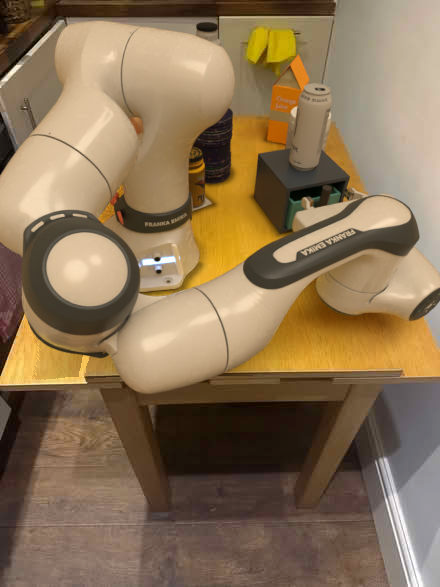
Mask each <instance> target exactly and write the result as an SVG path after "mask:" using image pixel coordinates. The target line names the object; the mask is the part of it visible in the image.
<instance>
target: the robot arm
mask: <svg viewBox="0 0 440 587" xmlns="http://www.w3.org/2000/svg"><path fill="white" fill-rule="evenodd" d="M54 68H55V72H56V75H57V78H58V80H59V83H60V84H61V86H62V91H61V92H60V96H59V97H58V99H57V100H56V102H55V103H54V104H53V105H52V107H51V108H50V110H49V111H48V112H47V114H46V115H45V116H44V117H43V119H41V121H40V122H39V123H38V125H37V126H36V127H35V128H34V130H33V131H32V132H31V133H30V134H29V136H28V137H27V138H26V139H25V140H24V141H23V142H22V144H21V145H20V146H19V147H18V149H17V150H16V151H15V152H14V154H13V156H11V158H10V159H9V161H8V162H7V163H6V166H5V167H4V168H3V170H2V171H1V174H0V243H1V244H2V245H3V246H4V247H6V248H7V249H8V250H9V251H11V252H13V253H15V254H16V255H19V256H20V257H21V259H22V261H21V304H22V305H21V306H22V310H23V314H24V316H25V318H26V320H27V324H28V326H29V328H30V330H31V332H32V333H33V335H34V336H35V338H36V339H38V340H39V341H40V342H41V343H42V344H43V345H45V346H47V347H49V348H51V349H52V350H56V351H58V352H61V353H66V354H73V355H79V356H80V355H81V356H84V357H92V358H96V359H105V358H107V357H110V359H111V361H112V363H113V367H114V368H115V371H116V373H117V374H118V376H119V378H120V379H121V380H122V381H123V382H124V384H125V385H127V386H128V387H129V388H130V389H132V391H134V392H137V393H139V394H142V395H153V394H159V393H165V392H170V391H173V390H174V391H175V390H178V389H181V388H185V387H189V386H192V385H195V384H198V383H201V382H204V381H208V380H211V379H212V378H215V377H218V376H220V375H223V374H225V373H227V372H229V371H232V370H234V369H236V368H239V367H240V366H242V365H244V364H245V363H247V362H248V361H250V360H251V359H253V358H254V357H255V356H257V355H259V354H260V353H261V352H262V351H264V349H266V347H267V346H268V345H269V344H270V342H271V341H272V339H273V338H274V336H275V334H276V332H277V330H278V329H279V328H280V325H281V324H282V322H283V320H284V318H286V315H287V314H288V312H289V311H290V309H291V308H292V306H293V305H294V303H295V302H296V300H297V299H298V297H299V296H300V295H301V293H302V292H304V290H306V288H307V287H308V286H309V285H310V284H311V283H312V282H313V281H315V283H314V288H315V292H316V294H317V296H318V298H319V299H320V301H321V302H322V303H323V305H325V306H326V307H327V308H328V309H329V310H331V311H333V312H334V313H336V314H338V315H341V316H346V317H355V316H356V317H357V316H361V315H364V314H368V313H369V314H370V313H371V314H372V313H373V314H386V315H387V314H388V315H392V316H395V317H397V318H400V319H401V320H403V321H405V322H414V321H418V320H420V319H422V318H424V317H425V316H427V315H428V314H429V313H430V312H431V311H432V310H434V309H435V308H436V307H437V305H438V304H439V303H440V272H439V270H438V269H437V268H436V267H435V266H434V265H433V263H432V262H431V261H430V260H429V259H428V257H426V256H425V255H424V254H423V252H422V251H420V249H418V248H417V247H416V244H417V243H418V241H419V240H420V237H421V236H420V230H419V226H418V222H417V219H416V216H415V214H414V213H413V211H412V209H411V208H410V206H408V204H406V203H405V202H403V201H401V199H400V200H399V199H398V198H396V197H395V196H393V195H392V194H389V193H383V192H382V193H379V194H373V195H368V194H367V193H364V192H361V191H357V190H356V188H354V187H348V188H347V189H346V190H345V193H344V199H345V198H346V201H343V202H341V203H336V204H332V205H327V206H322V207H317V208H314V207H313V205H312V204H313V202H314V200H313V199H312V198H311V197H310V196H309V197H304V198H302V202H301V205H302V207H303V208H304V209H305V210H303V211H299V212H297V213H296V214H295V216H294V220H293V225H292V229H293V231H292V232H291V233H289V234H287V235H285V236H283V237H280V238H278V239H276V240H274V241H271V242H269V243H268V244H266V245H264V246H262V247H261V248H259V249H257V250H256V251H254V252H253V253H252V254H250V255H249V256H248V257H247V258H245V260H243V261H242V262H240V263H238V264H237V265H236V266H234V267H232V269H229V270H227V271H225V272H224V273H222V274H220V275H218V276H217V277H214V278H213V279H211V280H208V281H205V282H203V283H201V284H198V285H195V286H192V287H189V288H186V289H183V290H180V291H177V292H174V293H171V294H169V295H167V294H166V295H165V294H164V295H147V294H144V293H146V292H156V291H167V290H175V289H176V290H177V289H179V288H181V287H182V285H183V283H184V282H185V279H186V277H187V276H188V275H189V274H190V273H191V272H192V271H194V270H195V268H196V267H197V265H198V263H199V261H200V256H201V253H200V249H199V247H198V245H197V241H196V238H195V234H194V230H193V224H192V221H193V213H194V210H193V203H192V196H191V192H190V191H189V157H190V152H191V149H192V146H193V144H194V142H195V140H196V139H197V137H198V136H199V135H200V134H201V133H202V132H203V131H204V130H206V129H207V128H209V127H210V126H212V125H214V124H215V123H217V122H218V121H219V120H220V119H221V118H222V117H223V116H224V114H225V113H226V112H227V110H228V108H230V106H231V104H232V101H233V98H234V96H235V95H234V94H235V90H236V89H235V88H236V76H235V70H234V66H233V63H232V60H231V57H230V55H229V54H228V52H227V51H226V49H225V48H224V47H223V46H222V45H221V46H219V45H216V44H214V43H212V42H210V41H208V40H205V39H203V38H200V37H198V36H196V34H192V33H187V32H182V31H175V30H168V29H162V28H156V27H151V26H140V25H134V24H128V23H120V22H115V21H109V20H91V21H83V22H75V23H71V24H68V25H67V26H65V27H64V28H63V29H62V31H61V32H60V34H59V35H58V38H57V40H56V44H55V48H54ZM134 117H137V118H140V119H141V121H142V123H143V133H140V134H138V135H137V133H136V131H135V128H134V126H133V125H132V123H131V121H130V120H129V119H131V118H134ZM120 187H122V194H121V195H120V194H119V192H118V190H119V189H120ZM109 204H110V205H111V206H113V214H112V215H111V216H110V217H108V218H107V219H106V220H105V221H104V222H101V221H100V220H99V218H100V216H101V215H102V214H103V213H104V211H105V210H106V209H107V207H108V206H109Z"/></svg>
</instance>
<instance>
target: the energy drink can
mask: <svg viewBox="0 0 440 587" xmlns="http://www.w3.org/2000/svg"><path fill="white" fill-rule="evenodd" d="M331 92H332V88H331V87H330V86H329V85H326V84H323V83H316V82H315V83H313V82H311V83H309V84H307V85H305V86H304V90H303V91H302V93H301V94H300V95H299V100H298V106H297V112H296V119H295V125H294V131H293V137H292V144H291V150H290V156H289V161H290V163H291V165H292V167H293V168H295V169H297V170H300V171H310V170H312V169H314V168H315V166H317V165H318V163H319V158H320V154H321V149H322V145H323V140H324V136H325V131H326V126H327V122H328V117H329V113H331V108H332V104H333V97H332V93H331Z"/></svg>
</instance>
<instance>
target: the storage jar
mask: <svg viewBox="0 0 440 587" xmlns="http://www.w3.org/2000/svg"><path fill="white" fill-rule="evenodd" d="M233 118H234V112H233V110H232V109H231V108H230V107H229V108H228V110H227V112H226V113H225V114H224V116H223V117H222V118H221V119H220V120H219V121H218V122H217V123H215V124H214V125H212V126H210V127H209V128H207V129H206V130H204V131H203V132H202V133H201V134H200V135H199V136H198V137H197V139H196V140H195V142H194V144H193V146H192V147H195V148H198V149H200V150H201V151H202V153H203V162H204V164H205V184H210V185H213V184H219V183H223V182H225V181H226V180H228V179H229V178H230V176H231V167H232V150H231V143H232V142H231V141H232V139H233V130H234V124H233V121H234V120H233Z"/></svg>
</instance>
